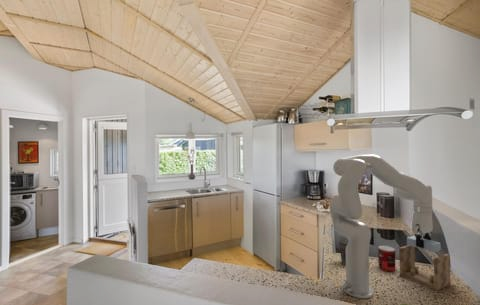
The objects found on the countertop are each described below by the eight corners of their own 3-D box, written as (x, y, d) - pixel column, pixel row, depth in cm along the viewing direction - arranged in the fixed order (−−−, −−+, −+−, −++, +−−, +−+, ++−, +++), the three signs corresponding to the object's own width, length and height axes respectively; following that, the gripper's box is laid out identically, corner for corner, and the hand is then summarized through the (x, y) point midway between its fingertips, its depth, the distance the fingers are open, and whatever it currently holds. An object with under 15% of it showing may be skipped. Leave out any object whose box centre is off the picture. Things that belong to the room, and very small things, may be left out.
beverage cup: (338, 259, 144) (338, 225, 144) (351, 261, 142) (351, 226, 142) (339, 265, 137) (339, 229, 137) (353, 266, 135) (353, 230, 135)
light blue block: (406, 244, 125) (406, 237, 125) (413, 242, 128) (413, 235, 128) (434, 252, 114) (434, 245, 114) (440, 250, 117) (440, 242, 117)
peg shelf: (437, 290, 110) (437, 259, 111) (399, 275, 125) (399, 247, 125) (450, 284, 116) (449, 254, 116) (412, 269, 131) (412, 243, 131)
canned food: (379, 263, 138) (379, 244, 138) (396, 267, 133) (396, 247, 133) (377, 268, 132) (376, 248, 132) (394, 273, 127) (394, 251, 127)
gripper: (423, 206, 128) (424, 240, 128) (404, 210, 120) (405, 246, 120) (440, 208, 122) (441, 245, 122) (422, 213, 114) (423, 251, 113)
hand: (423, 245), depth 121 cm, fingers closed on light blue block, 6 cm apart
